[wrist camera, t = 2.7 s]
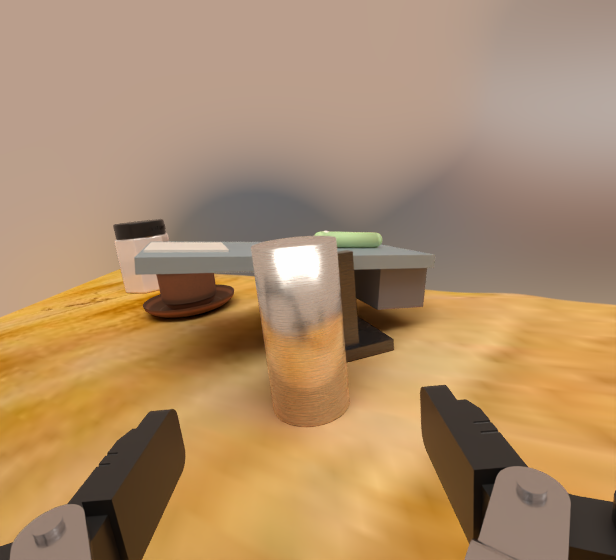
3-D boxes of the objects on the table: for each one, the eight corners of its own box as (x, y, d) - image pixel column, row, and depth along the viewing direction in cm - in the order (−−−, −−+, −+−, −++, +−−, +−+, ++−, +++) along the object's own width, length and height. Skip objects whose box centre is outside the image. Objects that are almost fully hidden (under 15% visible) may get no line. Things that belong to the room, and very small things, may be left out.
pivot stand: (325, 302, 45) (319, 233, 43) (393, 349, 30) (389, 246, 28) (264, 315, 43) (254, 241, 41) (306, 372, 28) (294, 261, 26)
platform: (368, 283, 44) (372, 228, 43) (429, 309, 33) (437, 236, 32) (153, 291, 36) (149, 224, 35) (138, 329, 25) (132, 232, 24)
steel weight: (258, 406, 24) (234, 248, 21) (311, 374, 27) (296, 235, 25) (310, 438, 20) (289, 252, 18) (365, 397, 24) (354, 236, 21)
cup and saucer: (151, 305, 53) (142, 266, 51) (231, 292, 56) (225, 254, 55) (140, 332, 42) (128, 282, 40) (241, 313, 45) (233, 266, 43)
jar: (169, 290, 61) (155, 220, 58) (120, 296, 60) (104, 226, 57) (180, 279, 69) (168, 218, 66) (137, 284, 68) (124, 222, 66)
